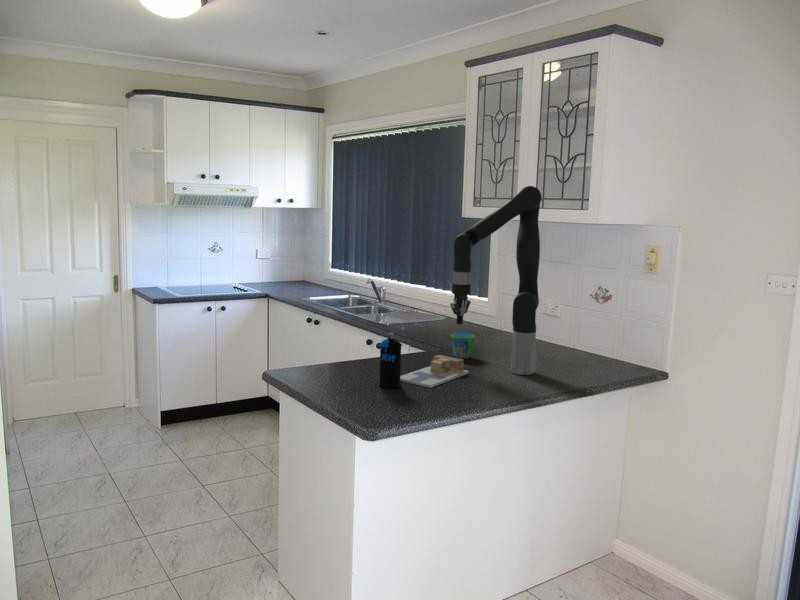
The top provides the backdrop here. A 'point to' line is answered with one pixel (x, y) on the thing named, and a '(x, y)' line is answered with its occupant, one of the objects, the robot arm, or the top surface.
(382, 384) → the aerosol can
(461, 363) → the t block
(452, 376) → the mat
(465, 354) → the snack cup
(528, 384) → the top surface
